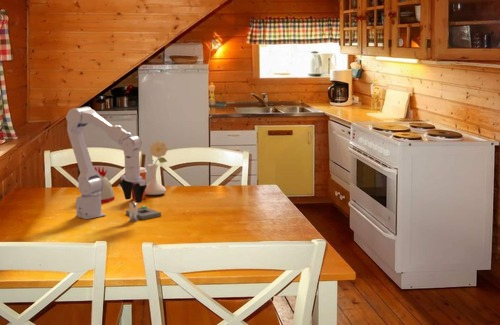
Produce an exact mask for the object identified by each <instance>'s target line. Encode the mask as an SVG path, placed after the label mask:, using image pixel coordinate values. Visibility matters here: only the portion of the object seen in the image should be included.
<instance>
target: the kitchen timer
mask: <svg viewBox="0 0 500 325" xmlns="http://www.w3.org/2000/svg"><path fill="white" fill-rule="evenodd" d="M94 170H96V171H97V172H98V173H99V175H100V177H101V178H102V179H103V182H104V187H103V189H102V190H101V204H106V203H111V202H113V201H115V193H114V188H113V187H112V183H111V182H110V180H109V179H108V178H107V177H106V175H107V172H108V170H107V169H106V170H105V168H104V166H103V167H102V168H100V166H98V169H97V166H95V167H94Z"/></svg>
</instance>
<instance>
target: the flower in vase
mask: <svg viewBox="0 0 500 325" xmlns="http://www.w3.org/2000/svg"><path fill="white" fill-rule="evenodd" d="M148 150H149V152H150V156H152V157H154V158H155V157H156V161H155V160H153V159H151V158H149V157H147V158H148V160H150V161H152V162H154V163H149V164H147V166H148V168H149V171H150V181H149V182H148V183H146V185H147V187H146V189H145V196H146V195H147V196H148V195H149V196H159V195H162V194H165V193H166V192H167V189H166V188H165V186H164V185H163V184H161V183H160V182H158V181H157V170H158V167H159V163H161V164H163V163H166V162H167V163H168V160H167V159H166V158H165V157H163V156H166V153H168V146H167V144H166V142H163V141H160V140H158V141H154V142H153V143H151V145H150V147H149V149H148ZM158 161H159V163H157V162H158Z"/></svg>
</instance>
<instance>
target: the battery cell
mask: <svg viewBox="0 0 500 325" xmlns="http://www.w3.org/2000/svg"><path fill="white" fill-rule="evenodd" d="M128 204H129V208H128V210H129V212H130V215H129V222H134V223H136V222H139V221H138V220H139V219H138V208H139V207H138V206H139V205H138V203H136V201H131V202H129V203H128Z"/></svg>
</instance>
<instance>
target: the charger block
mask: <svg viewBox="0 0 500 325" xmlns="http://www.w3.org/2000/svg"><path fill="white" fill-rule="evenodd" d="M125 215H128V216H130V212H129V209H128V210H127V209H126V210H125ZM161 216H162V212H161V211H157V210H155V209H153V208H148V206H146V205H142V206H141V207H138V220H141V221H144V220H149V219H154V218H158V217H161Z"/></svg>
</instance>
